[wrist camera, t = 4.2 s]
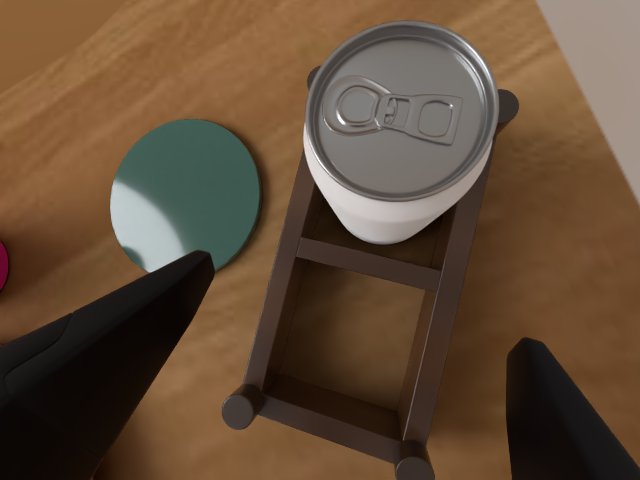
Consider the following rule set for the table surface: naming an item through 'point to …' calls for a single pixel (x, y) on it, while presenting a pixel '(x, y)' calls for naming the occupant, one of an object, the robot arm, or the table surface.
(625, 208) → the table surface
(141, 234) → the coaster
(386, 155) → the can
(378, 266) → the rack
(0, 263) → the pepper mill
